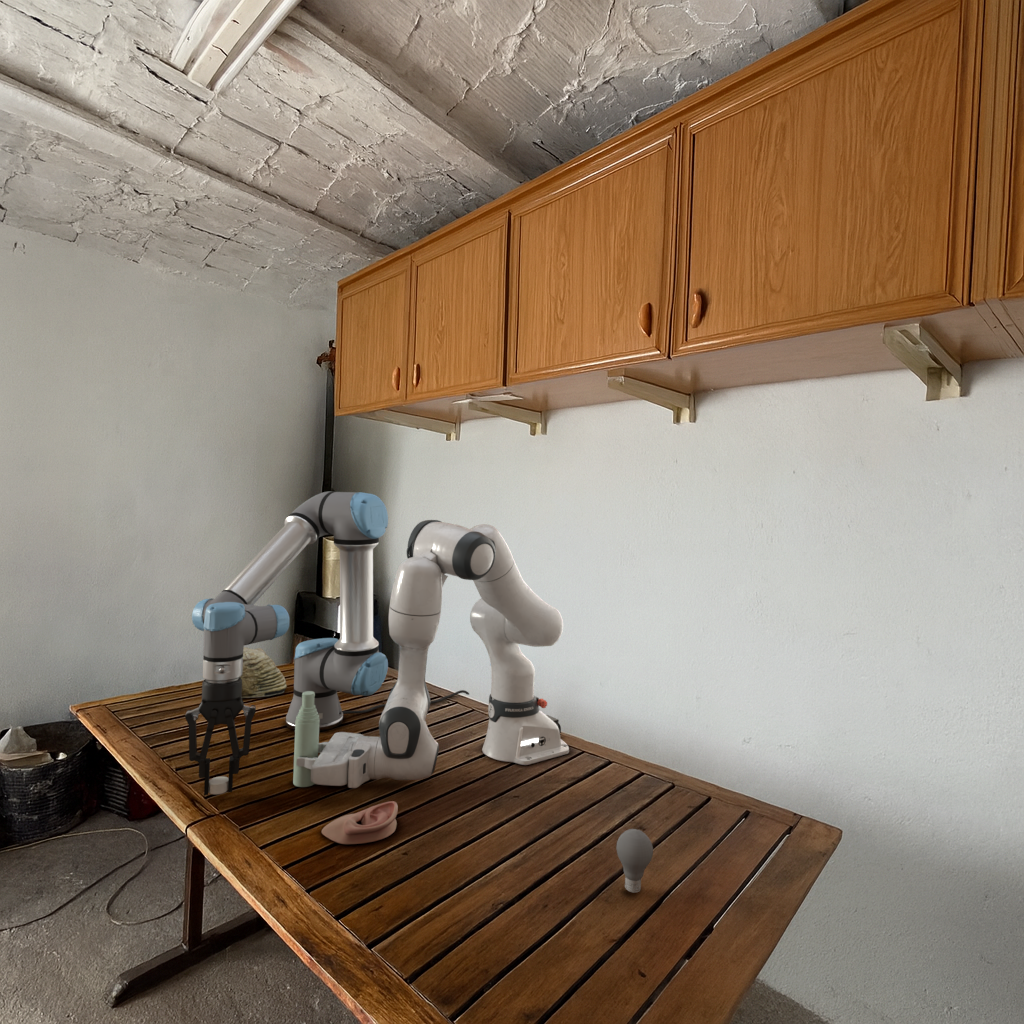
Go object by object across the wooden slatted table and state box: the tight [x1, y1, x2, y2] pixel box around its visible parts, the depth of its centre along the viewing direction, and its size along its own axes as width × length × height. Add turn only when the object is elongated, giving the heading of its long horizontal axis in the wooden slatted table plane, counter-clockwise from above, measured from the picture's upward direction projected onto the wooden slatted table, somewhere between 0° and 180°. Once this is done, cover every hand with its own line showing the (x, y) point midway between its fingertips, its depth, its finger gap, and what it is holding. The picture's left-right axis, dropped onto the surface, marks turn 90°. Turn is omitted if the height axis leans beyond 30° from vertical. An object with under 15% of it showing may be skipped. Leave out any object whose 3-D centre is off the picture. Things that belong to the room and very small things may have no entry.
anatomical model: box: [321, 800, 399, 845], centre depth 121 cm, size 13×4×12 cm
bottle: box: [292, 691, 320, 788], centre depth 140 cm, size 5×5×20 cm
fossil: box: [240, 646, 288, 699], centre depth 198 cm, size 9×18×15 cm, turn 132°
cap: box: [208, 775, 229, 795], centre depth 131 cm, size 4×4×2 cm
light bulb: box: [615, 828, 654, 894], centre depth 106 cm, size 6×6×10 cm
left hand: (218, 790), depth 131 cm, fingers closed on cap, 4 cm apart
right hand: (302, 754), depth 140 cm, fingers closed on bottle, 5 cm apart
